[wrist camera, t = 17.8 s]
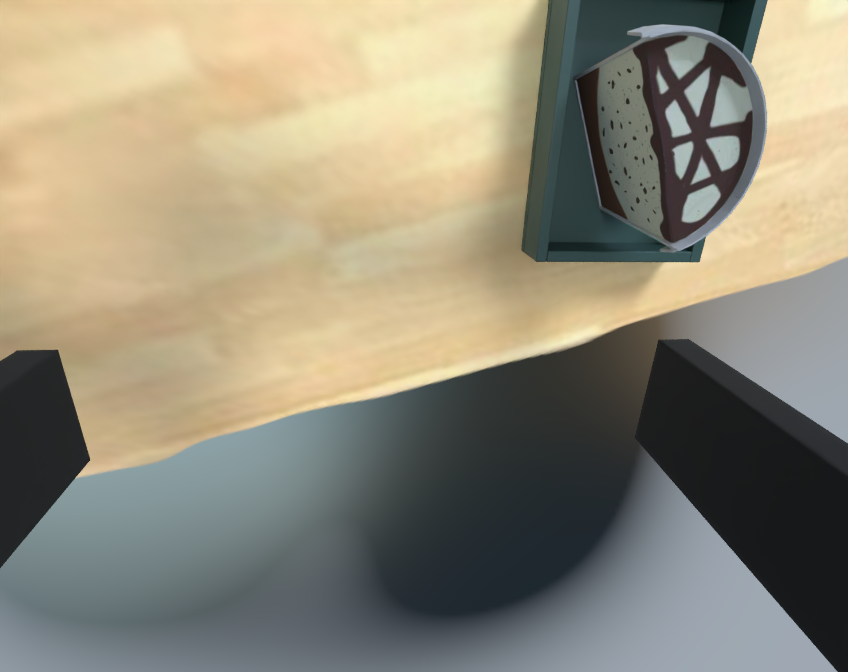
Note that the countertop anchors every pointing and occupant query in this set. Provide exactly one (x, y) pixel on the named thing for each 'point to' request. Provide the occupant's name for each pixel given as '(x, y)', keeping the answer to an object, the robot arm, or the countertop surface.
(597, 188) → the food container
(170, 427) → the countertop surface
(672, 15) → the tray
